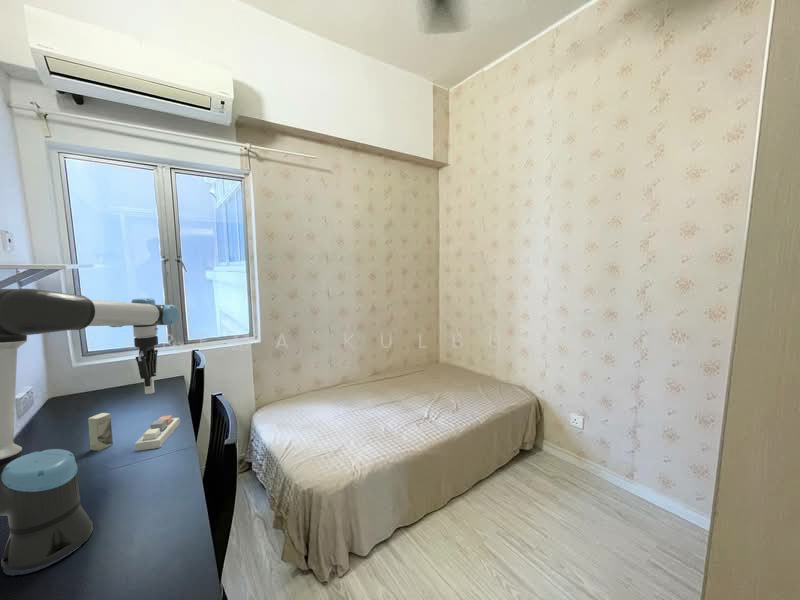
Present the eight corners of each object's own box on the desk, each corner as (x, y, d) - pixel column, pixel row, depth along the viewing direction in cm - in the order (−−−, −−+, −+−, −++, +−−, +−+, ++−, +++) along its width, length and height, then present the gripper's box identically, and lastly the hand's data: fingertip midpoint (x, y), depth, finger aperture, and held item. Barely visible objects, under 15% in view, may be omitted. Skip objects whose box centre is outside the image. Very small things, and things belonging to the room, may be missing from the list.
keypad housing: (160, 447, 123) (159, 440, 123) (135, 450, 121) (134, 443, 121) (179, 423, 143) (179, 417, 142) (159, 426, 140) (158, 419, 140)
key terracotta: (168, 426, 136) (168, 419, 136) (157, 427, 135) (157, 420, 135) (172, 422, 140) (172, 415, 140) (162, 423, 139) (161, 416, 139)
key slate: (162, 431, 130) (161, 423, 130) (151, 432, 129) (150, 425, 129) (166, 426, 134) (166, 419, 134) (155, 427, 133) (154, 420, 133)
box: (99, 451, 121) (95, 419, 120) (90, 450, 122) (86, 418, 121) (114, 444, 126) (111, 413, 125) (105, 443, 127) (102, 412, 126)
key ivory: (155, 440, 125) (155, 432, 124) (143, 442, 124) (143, 434, 123) (160, 435, 128) (159, 428, 128) (148, 437, 127) (148, 429, 127)
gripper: (149, 338, 123) (152, 397, 125) (163, 333, 136) (167, 386, 137) (125, 339, 121) (130, 400, 123) (143, 334, 134) (146, 388, 135)
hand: (149, 393), depth 130 cm, fingers closed
